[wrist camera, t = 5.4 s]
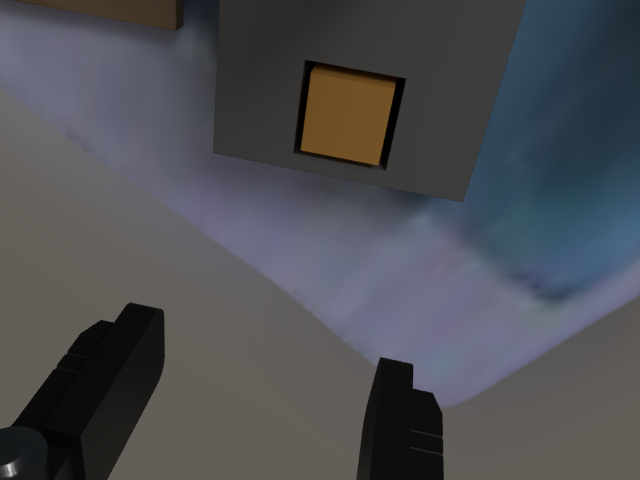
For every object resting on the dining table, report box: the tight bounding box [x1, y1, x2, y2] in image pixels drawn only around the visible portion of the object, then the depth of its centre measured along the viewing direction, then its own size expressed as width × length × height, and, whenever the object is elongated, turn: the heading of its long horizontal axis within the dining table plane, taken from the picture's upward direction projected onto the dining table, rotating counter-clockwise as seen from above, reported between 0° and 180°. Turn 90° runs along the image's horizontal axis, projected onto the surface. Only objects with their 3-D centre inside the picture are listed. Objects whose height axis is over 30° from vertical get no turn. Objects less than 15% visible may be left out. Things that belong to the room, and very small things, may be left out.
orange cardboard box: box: [301, 62, 397, 165], centre depth 27 cm, size 4×4×4 cm
